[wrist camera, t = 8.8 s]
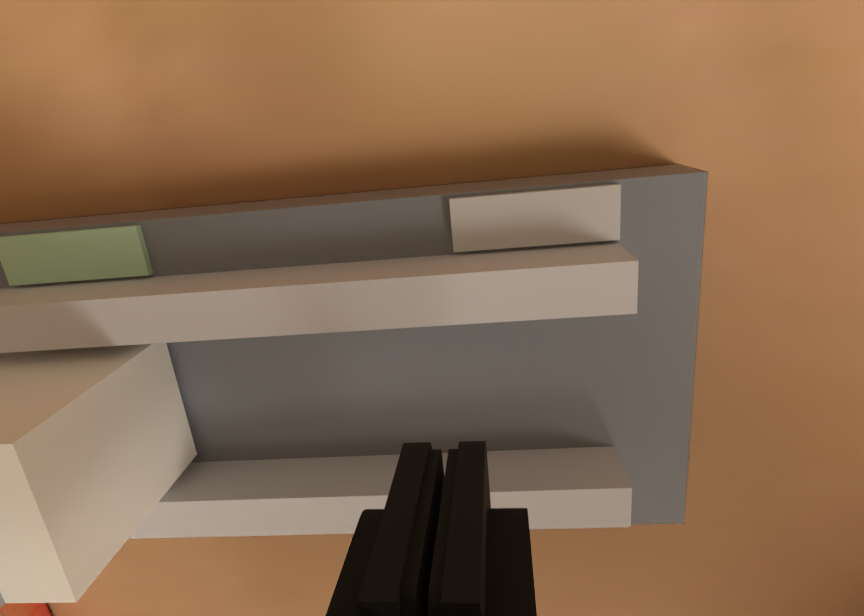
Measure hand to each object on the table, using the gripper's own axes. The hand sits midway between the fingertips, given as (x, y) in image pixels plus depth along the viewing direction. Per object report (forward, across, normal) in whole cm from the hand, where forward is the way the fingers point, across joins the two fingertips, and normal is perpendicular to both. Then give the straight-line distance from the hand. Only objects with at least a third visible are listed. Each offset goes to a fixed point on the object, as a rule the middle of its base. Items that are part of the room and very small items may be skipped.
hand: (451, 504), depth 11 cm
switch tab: (+4, +10, -1) cm, 11 cm away
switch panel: (+6, +6, -1) cm, 9 cm away
